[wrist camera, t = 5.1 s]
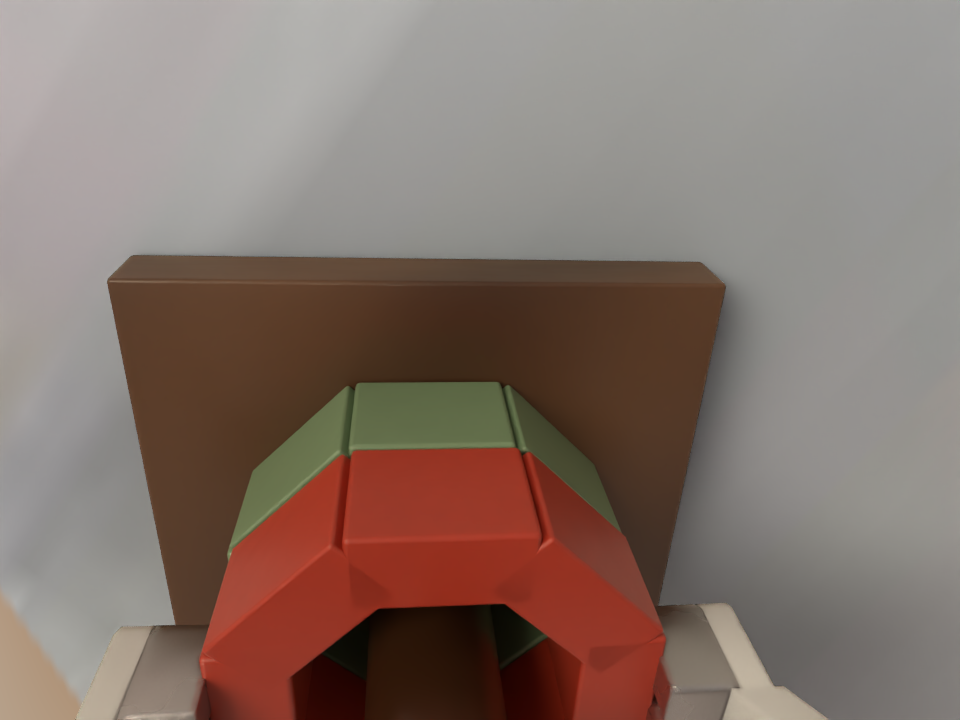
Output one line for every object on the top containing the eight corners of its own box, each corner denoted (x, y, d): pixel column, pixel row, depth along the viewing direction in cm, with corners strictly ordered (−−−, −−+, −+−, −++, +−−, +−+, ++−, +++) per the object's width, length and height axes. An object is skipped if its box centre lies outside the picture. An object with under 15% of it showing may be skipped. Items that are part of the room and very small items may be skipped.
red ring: (646, 443, 11) (693, 530, 9) (596, 721, 14) (625, 828, 12) (212, 450, 10) (174, 545, 9) (255, 741, 13) (232, 858, 11)
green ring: (610, 379, 13) (643, 441, 11) (572, 638, 16) (594, 720, 14) (237, 381, 12) (209, 448, 10) (270, 651, 15) (252, 740, 13)
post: (701, 261, 13) (1047, 574, 6) (626, 648, 18) (775, 1086, 11) (130, 254, 12) (-245, 623, 5) (205, 668, 17) (60, 1168, 10)
